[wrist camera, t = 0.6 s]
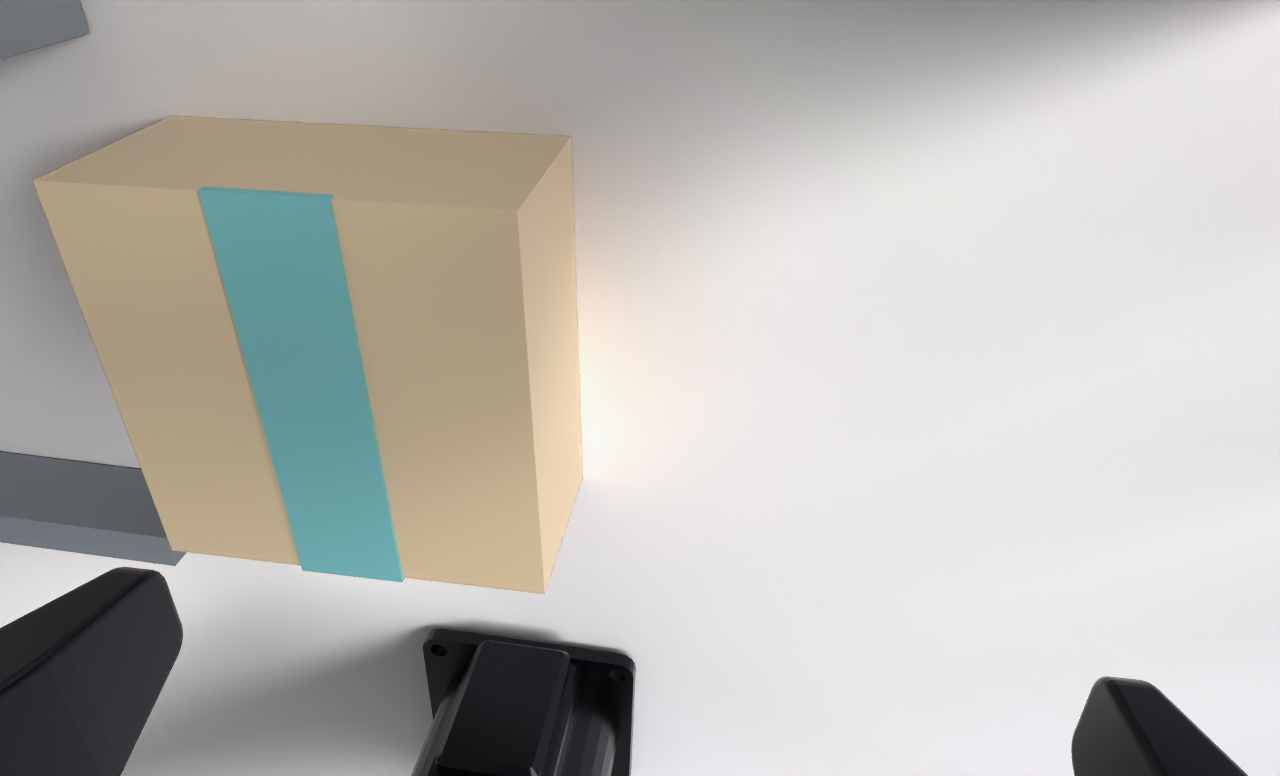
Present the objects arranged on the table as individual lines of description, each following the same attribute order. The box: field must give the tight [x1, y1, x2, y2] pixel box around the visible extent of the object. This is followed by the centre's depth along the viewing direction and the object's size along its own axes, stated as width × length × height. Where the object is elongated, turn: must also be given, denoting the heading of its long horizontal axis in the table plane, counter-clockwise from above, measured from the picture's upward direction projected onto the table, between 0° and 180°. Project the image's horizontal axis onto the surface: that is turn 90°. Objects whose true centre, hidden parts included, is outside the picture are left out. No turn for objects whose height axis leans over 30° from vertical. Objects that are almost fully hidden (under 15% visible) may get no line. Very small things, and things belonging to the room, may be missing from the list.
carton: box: [32, 116, 583, 594], centre depth 20 cm, size 9×9×5 cm
